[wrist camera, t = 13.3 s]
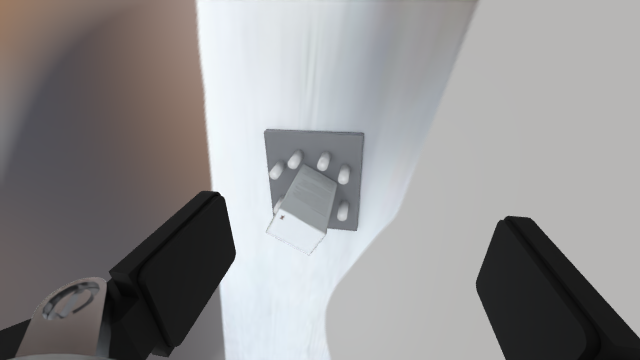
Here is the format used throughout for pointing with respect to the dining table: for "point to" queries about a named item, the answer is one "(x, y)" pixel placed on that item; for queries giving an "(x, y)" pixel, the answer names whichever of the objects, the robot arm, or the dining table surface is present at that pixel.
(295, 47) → the dining table surface
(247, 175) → the dining table surface
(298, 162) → the peg board
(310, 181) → the skincare box
